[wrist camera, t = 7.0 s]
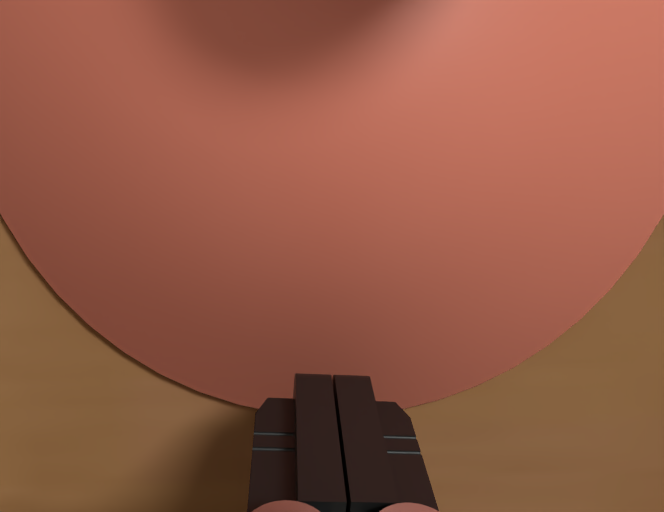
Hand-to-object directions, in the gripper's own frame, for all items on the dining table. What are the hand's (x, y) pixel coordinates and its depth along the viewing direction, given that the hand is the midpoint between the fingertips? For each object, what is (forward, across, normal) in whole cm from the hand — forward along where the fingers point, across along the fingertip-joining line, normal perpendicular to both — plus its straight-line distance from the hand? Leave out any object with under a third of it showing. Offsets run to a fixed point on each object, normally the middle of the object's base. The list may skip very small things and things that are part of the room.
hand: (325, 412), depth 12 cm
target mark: (+2, 0, -6) cm, 6 cm away
